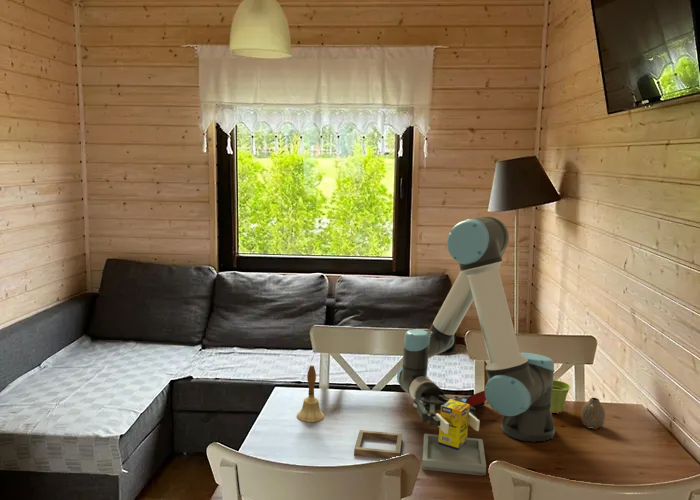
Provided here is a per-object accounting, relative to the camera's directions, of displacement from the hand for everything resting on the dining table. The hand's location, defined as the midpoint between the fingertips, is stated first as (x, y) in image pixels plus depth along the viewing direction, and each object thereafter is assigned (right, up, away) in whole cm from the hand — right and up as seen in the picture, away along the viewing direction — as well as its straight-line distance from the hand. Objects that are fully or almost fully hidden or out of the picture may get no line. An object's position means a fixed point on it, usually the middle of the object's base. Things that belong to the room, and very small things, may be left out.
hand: (462, 427), depth 171 cm
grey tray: (-2, -10, +6) cm, 12 cm away
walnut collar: (-21, -8, +10) cm, 25 cm away
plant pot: (+35, -6, +41) cm, 55 cm away
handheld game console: (+8, -5, +40) cm, 42 cm away
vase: (+44, -8, +30) cm, 54 cm away
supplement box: (-2, -6, +6) cm, 9 cm away
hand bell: (-41, -5, +29) cm, 50 cm away
